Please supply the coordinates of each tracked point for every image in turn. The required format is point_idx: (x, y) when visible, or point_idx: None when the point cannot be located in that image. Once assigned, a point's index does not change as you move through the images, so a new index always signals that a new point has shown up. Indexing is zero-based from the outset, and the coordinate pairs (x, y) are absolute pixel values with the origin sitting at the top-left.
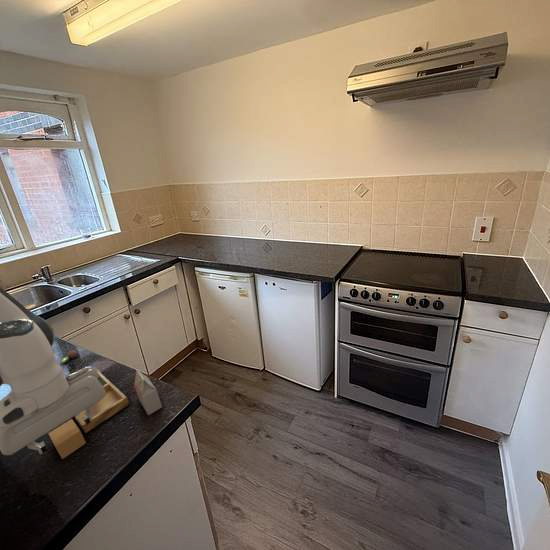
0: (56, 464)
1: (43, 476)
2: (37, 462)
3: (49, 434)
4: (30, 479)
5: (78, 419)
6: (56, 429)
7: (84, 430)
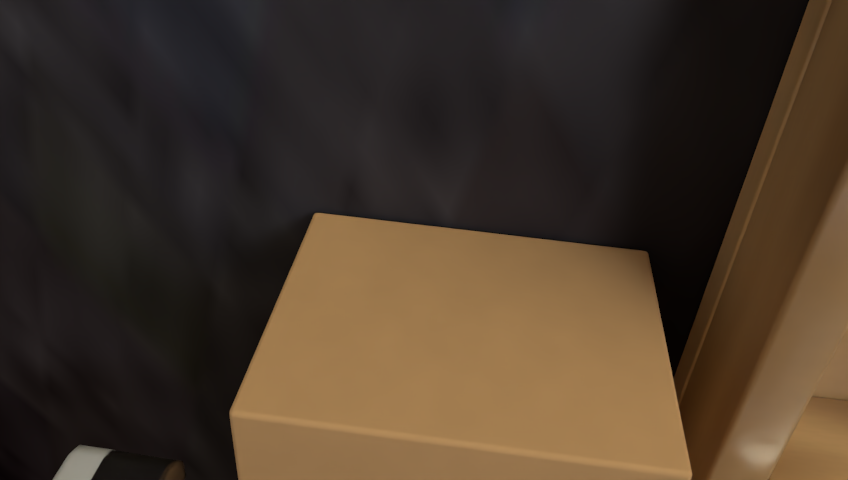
0: None
1: None
2: (93, 270)
3: (243, 459)
4: (30, 403)
5: (784, 346)
6: (372, 459)
7: None
